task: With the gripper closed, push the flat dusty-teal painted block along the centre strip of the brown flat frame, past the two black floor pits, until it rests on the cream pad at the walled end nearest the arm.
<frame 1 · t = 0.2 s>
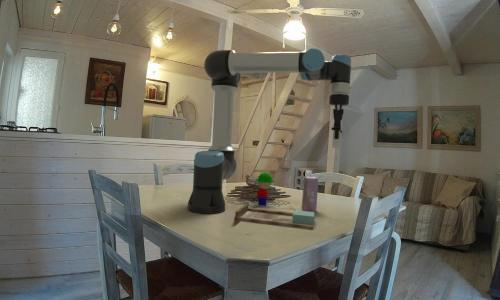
hand: (336, 147, 119), 28 cm above the table, fingers open, 13 cm apart
block: (303, 221, 102), point 1 cm above the table, touching brown flat frame
beverage can: (308, 213, 122), on the table
toy: (263, 206, 131), on the table
brown flat frame: (275, 222, 104), on the table
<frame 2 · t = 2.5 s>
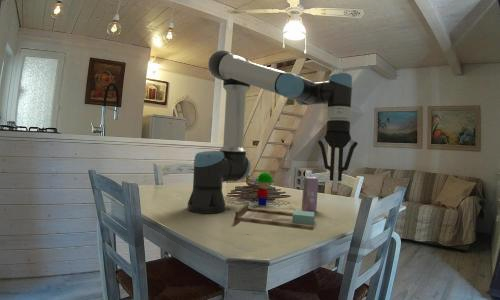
hand: (334, 190, 99), 13 cm above the table, fingers closed
nothing on the table moved.
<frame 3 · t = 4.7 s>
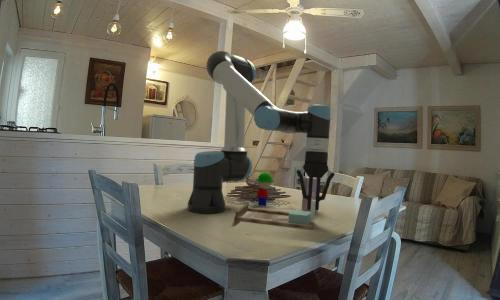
hand: (312, 219, 101), 3 cm above the table, fingers closed
block: (299, 221, 102), point 2 cm above the table, touching gripper
everything else where it was.
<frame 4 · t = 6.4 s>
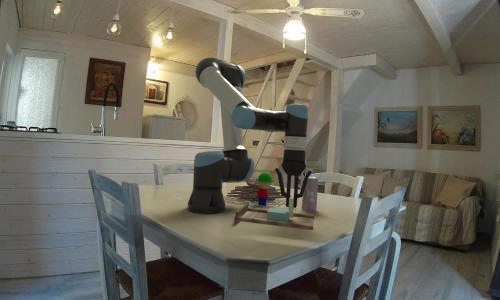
hand: (290, 216, 103), 3 cm above the table, fingers closed
block: (278, 218, 104), point 2 cm above the table, touching gripper, brown flat frame
everything else where it was.
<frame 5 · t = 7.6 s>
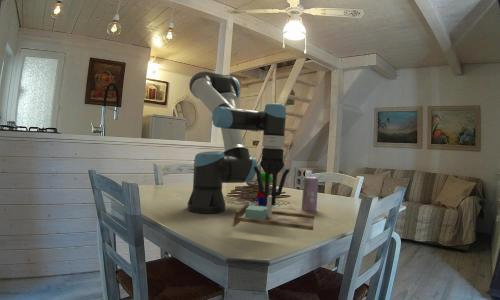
hand: (269, 214, 105), 3 cm above the table, fingers closed
block: (257, 216, 106), point 2 cm above the table, touching gripper
everything else where it was.
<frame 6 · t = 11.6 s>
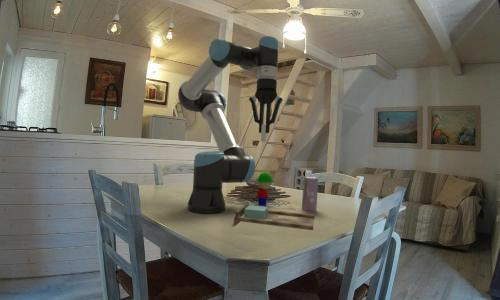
hand: (263, 141, 112), 28 cm above the table, fingers closed
block: (256, 216, 106), point 1 cm above the table, touching brown flat frame
everything else where it was.
at the end: block 1.1 cm from the target spot on the brown flat frame, point 1.5 cm above the brown flat frame's base; block tilted 0°; the gripper is holding nothing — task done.
